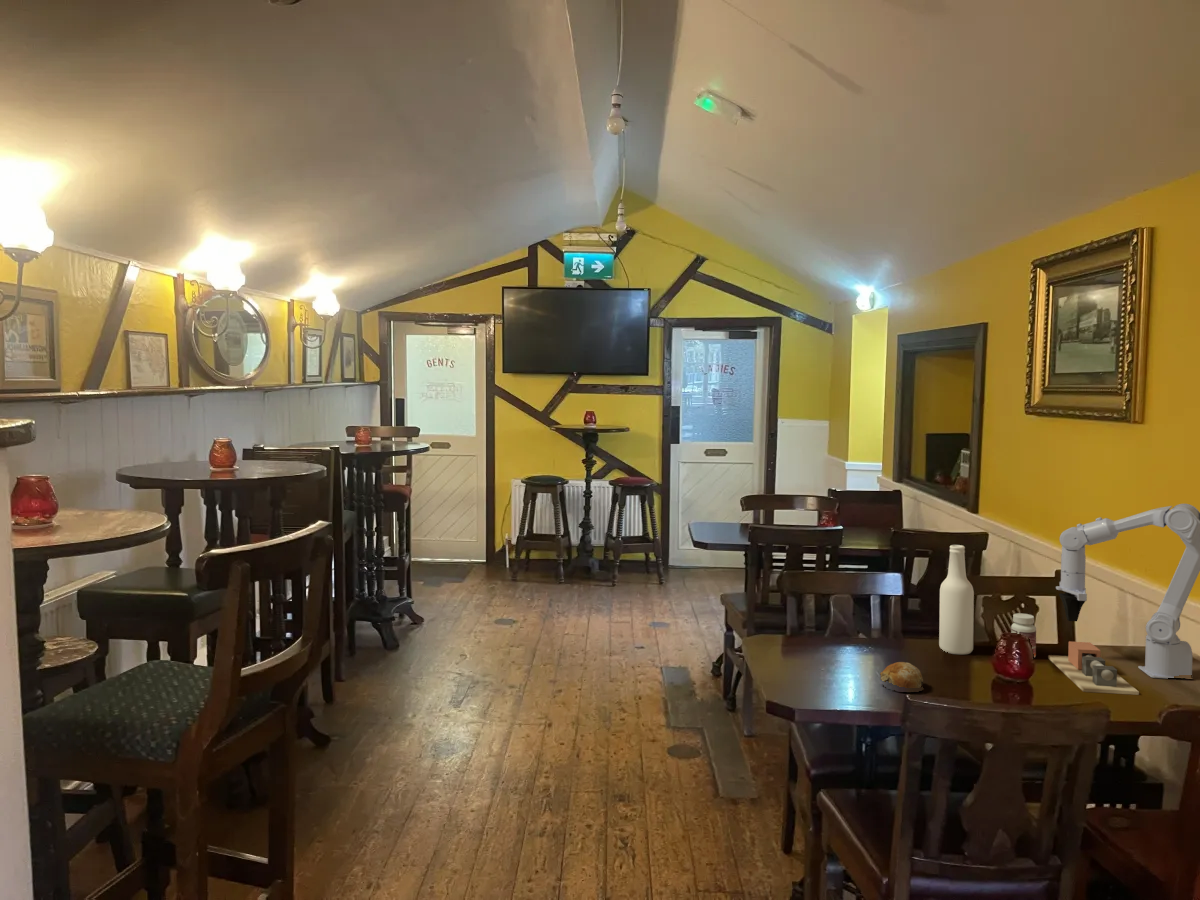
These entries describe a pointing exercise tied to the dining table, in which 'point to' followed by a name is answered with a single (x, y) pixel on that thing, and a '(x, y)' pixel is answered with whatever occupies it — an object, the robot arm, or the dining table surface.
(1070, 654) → the terracotta arch block
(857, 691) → the dining table surface
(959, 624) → the alcohol
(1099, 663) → the shaft rig
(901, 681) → the bread roll
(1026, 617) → the pill bottle
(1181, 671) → the robot arm
